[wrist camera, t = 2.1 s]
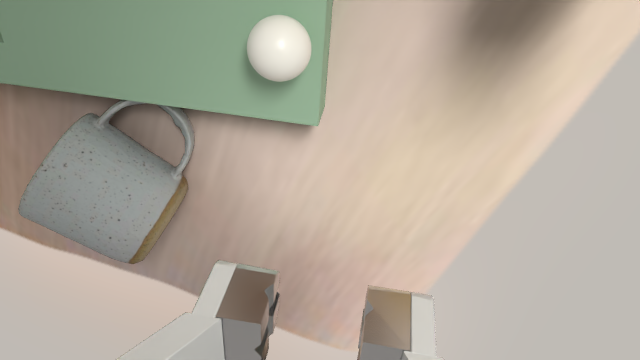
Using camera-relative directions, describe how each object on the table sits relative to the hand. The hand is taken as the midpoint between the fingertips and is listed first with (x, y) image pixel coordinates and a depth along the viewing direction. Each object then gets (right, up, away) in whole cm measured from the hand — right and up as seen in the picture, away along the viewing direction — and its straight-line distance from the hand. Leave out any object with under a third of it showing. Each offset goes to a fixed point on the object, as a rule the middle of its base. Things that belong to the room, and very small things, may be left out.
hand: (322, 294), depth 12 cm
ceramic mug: (-13, +5, +23) cm, 27 cm away
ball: (-2, +10, +14) cm, 17 cm away
